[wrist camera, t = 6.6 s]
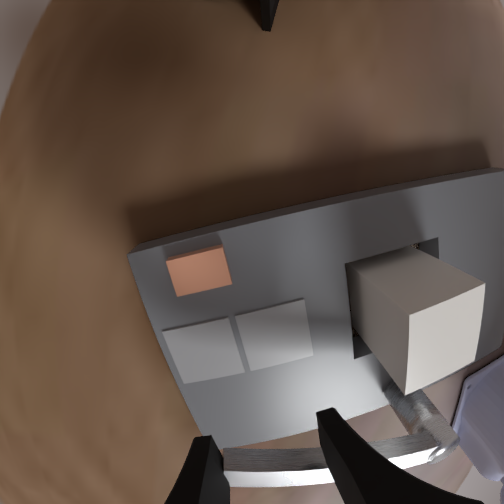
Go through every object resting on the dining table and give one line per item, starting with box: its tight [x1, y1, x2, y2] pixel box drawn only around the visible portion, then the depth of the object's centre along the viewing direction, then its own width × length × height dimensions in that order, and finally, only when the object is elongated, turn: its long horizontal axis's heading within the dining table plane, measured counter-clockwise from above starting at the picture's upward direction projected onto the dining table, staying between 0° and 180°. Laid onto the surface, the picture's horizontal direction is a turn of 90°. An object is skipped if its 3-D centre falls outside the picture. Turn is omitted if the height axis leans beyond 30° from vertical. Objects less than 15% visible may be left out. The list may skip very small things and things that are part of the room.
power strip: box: [127, 168, 504, 449], centre depth 15 cm, size 13×22×3 cm, turn 103°
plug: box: [346, 245, 485, 395], centre depth 13 cm, size 4×4×6 cm
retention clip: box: [222, 380, 460, 487], centre depth 12 cm, size 12×2×6 cm, turn 81°
